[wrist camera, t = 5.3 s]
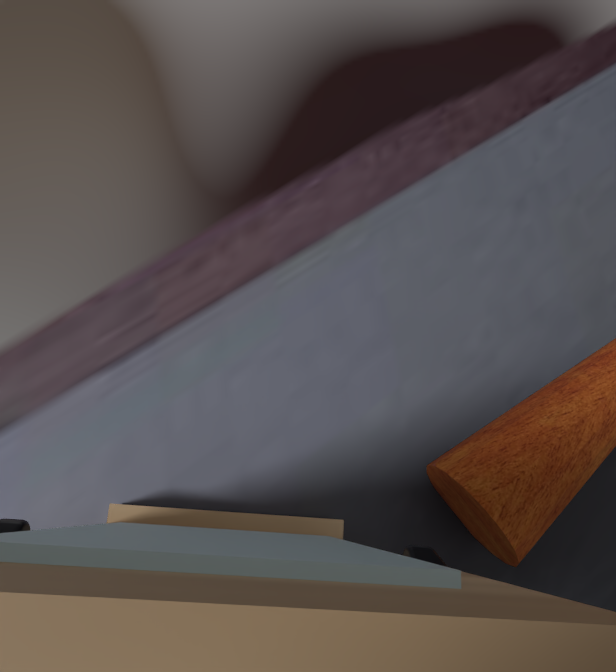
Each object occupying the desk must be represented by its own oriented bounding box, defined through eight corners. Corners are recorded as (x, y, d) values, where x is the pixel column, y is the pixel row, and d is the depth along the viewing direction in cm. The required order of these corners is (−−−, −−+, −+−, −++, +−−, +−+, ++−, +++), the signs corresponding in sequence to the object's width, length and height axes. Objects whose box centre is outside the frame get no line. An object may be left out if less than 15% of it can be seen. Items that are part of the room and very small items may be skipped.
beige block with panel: (328, 680, 15) (780, 1496, 3) (92, 670, 14) (-804, 1665, 2) (335, 519, 16) (669, 543, 4) (118, 504, 16) (-333, 474, 3)
